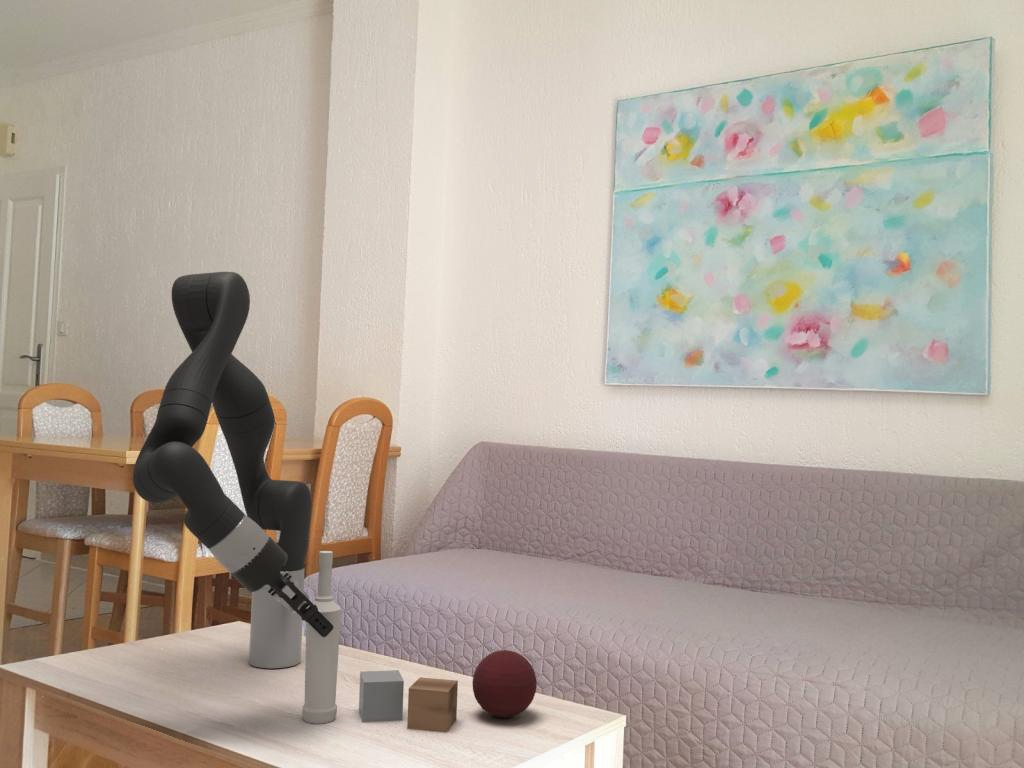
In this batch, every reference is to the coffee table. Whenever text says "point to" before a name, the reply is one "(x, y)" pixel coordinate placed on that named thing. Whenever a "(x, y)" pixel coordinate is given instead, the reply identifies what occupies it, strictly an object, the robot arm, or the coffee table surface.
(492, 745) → the coffee table surface
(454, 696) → the walnut cube
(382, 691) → the slate grey cube
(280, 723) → the coffee table surface
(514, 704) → the decorative ball
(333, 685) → the bottle
